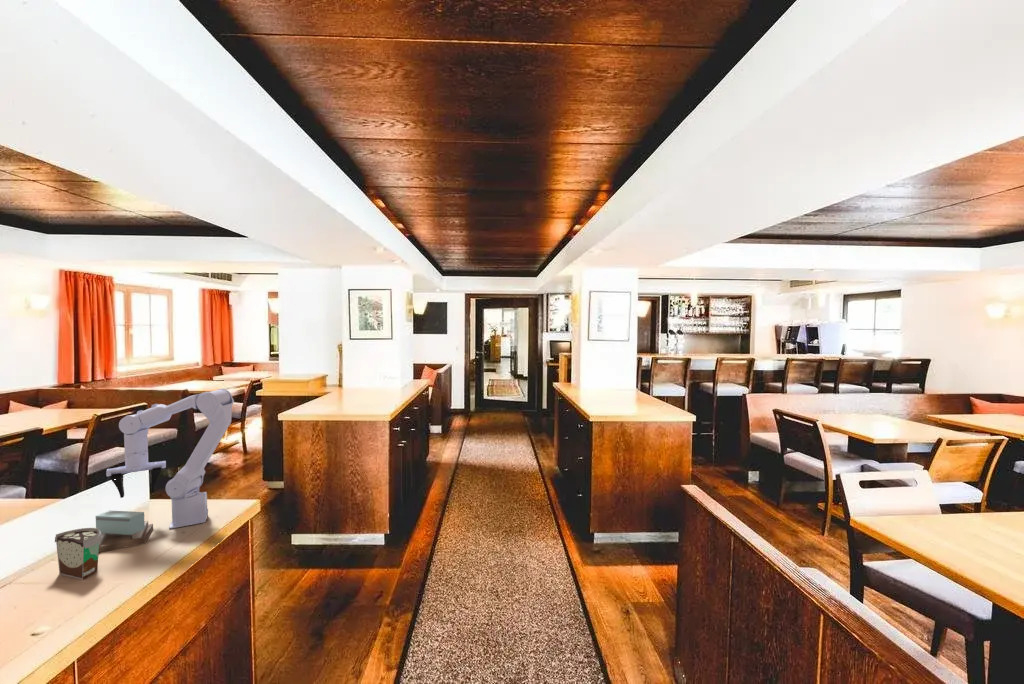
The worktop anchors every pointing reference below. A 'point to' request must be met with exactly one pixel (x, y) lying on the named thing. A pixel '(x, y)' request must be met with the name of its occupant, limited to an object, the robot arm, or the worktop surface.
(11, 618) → the worktop surface
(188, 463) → the robot arm
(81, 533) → the food container
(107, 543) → the display stand
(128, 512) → the glasses case
